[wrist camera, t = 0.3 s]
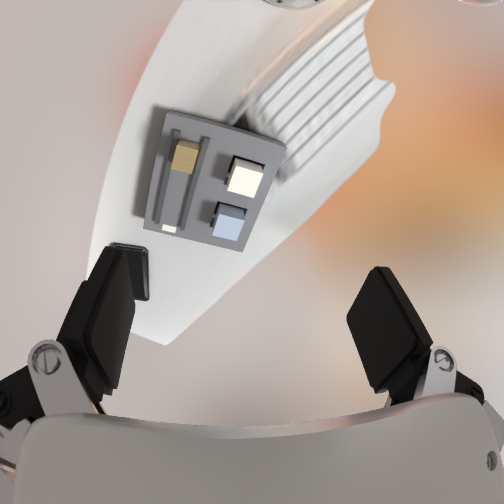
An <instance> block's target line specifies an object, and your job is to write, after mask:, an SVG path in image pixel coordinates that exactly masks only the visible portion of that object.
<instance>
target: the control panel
mask: <svg viewBox="0 0 504 504" xmlns="http://www.w3.org/2000/svg"><path fill="white" fill-rule="evenodd" d="M180 139H182V140H186V141H190V142H194V143H198V144H201V145H200V148H199V152H198V155H197V158H196V162H195V165H194V168H193V171H192V174H189V173H185V172H181V171H177V170H173V169H171V166H172V162H173V158H174V154H175V150H176V146H177V144H178V142H179V141H180ZM286 149H287V148H286V146H285V145H284V143H282V142H279V141H277V140H274V139H271V138H268V137H265V136H262V135H259V134H256V133H253V132H250V131H246V130H243V129H240V128H237V127H233V126H230V125H226V124H223V123H219V122H216V121H212V120H208V119H205V118H201V117H197V116H193V115H189V114H184V113H180V112H176V111H169V112H168V113H167V114H166V118H165V121H164V125H163V129H162V133H161V137H160V141H159V146H158V150H157V154H156V159H155V164H154V168H153V173H152V178H151V184H150V189H149V194H148V200H147V206H146V212H145V219H144V226H143V229H147V230H151V231H155V232H160V233H164V234H168V235H172V236H176V237H181V238H185V239H189V240H193V241H197V242H202V243H206V244H210V245H214V246H218V247H223V248H227V249H231V250H235V251H239V252H243V250H244V247H245V245H246V243H247V240H248V238H249V236H250V233H251V231H252V229H253V226H254V224H255V221H256V219H257V217H258V214H259V212H260V210H261V207H262V205H263V203H264V200H265V198H266V196H267V193H268V191H269V189H270V186H271V184H272V182H273V179H274V177H275V175H276V172H277V170H278V168H279V165H280V163H281V161H282V158H283V156H284V154H285V151H286ZM233 155H236V156H239V157H243V158H246V159H249V160H253V161H256V162H259V163H261V167H262V170H263V177H262V179H261V181H260V184H259V186H258V189H257V191H256V194H255V196H254V198H252V197H248V196H245V195H241V194H238V193H234V192H230V191H227V181H228V178H226V175H227V172H228V169H229V166H230V163H231V160H232V157H233ZM217 201H220V202H223V203H227V204H231V205H235V206H238V207H242V208H244V219H245V221H244V224H243V226H242V229H241V231H240V234H239V236H238V239H237V241H234V240H230V239H226V238H221V237H217V236H213V235H212V231H213V222H214V218H212V217H213V214H214V210H215V207H216V204H217Z"/></svg>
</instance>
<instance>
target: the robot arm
mask: <svg viewBox="0 0 504 504" xmlns="http://www.w3.org/2000/svg"><path fill="white" fill-rule="evenodd" d="M265 1H267V2H269V3H271V4H273V5H276V6H278V7H282V8H286V9H307V8H311V7H314V6H317V5H319V4H321V3H322V2H324V1H325V0H317V2H316V1H315V0H265ZM277 1H280V3H278V2H277ZM458 1H460V2H462V3H465V4H468V5H472V6H489V5H493V4H496V3H499V2H502V1H504V0H458ZM134 314H135V301H134V296H133V291H132V285H131V279H130V273H129V267H128V261H127V254H126V252H122V249H121V248H120V247H110V246H106V247H105V248H104V249H103V251H102V253H101V255H100V257H99V259H98V260H97V262H96V264H95V266H94V268H93V270H92V272H91V274H90V276H89V278H88V280H87V281H86V280H85V281H83V282H82V283H81V285H80V287H79V289H78V291H77V293H76V295H75V298H74V300H73V302H72V304H71V306H70V308H69V311H68V313H67V315H66V318H65V320H64V322H63V324H62V327H61V329H60V332H59V334H58V337H57V339H56V341H54V340H44V341H40V342H39V343H37V344H36V345H35V346H34V347H33V348H32V349H31V351H30V353H29V356H28V365H27V366H25V367H24V368H22V369H20V370H18V371H16V372H15V373H13V374H11V375H9V376H8V377H6V378H4V379H2V380H1V381H0V504H504V468H503V464H502V460H501V456H500V452H501V449H502V446H503V444H504V420H503V419H502V418H501V416H500V415H499V414H498V413H497V412H496V411H495V410H494V408H493V407H492V406H491V405H490V404H489V403H488V402H487V401H486V400H485V401H484V393H483V390H482V388H481V387H480V386H479V385H478V384H477V383H476V382H474V381H472V380H471V379H469V378H468V377H466V376H465V375H463V374H462V373H460V372H458V371H457V364H456V360H455V358H454V356H453V354H452V353H451V352H450V351H449V350H448V349H446V348H445V347H442V346H436V347H434V348H433V349H432V350H431V349H430V346H431V345H432V344H433V341H432V339H431V337H430V335H429V333H428V332H427V330H426V328H425V326H424V324H423V323H422V321H421V319H420V317H419V315H418V314H417V312H416V310H415V308H414V307H413V305H412V303H411V302H410V300H409V298H408V297H407V295H406V293H405V292H404V290H403V288H402V287H401V285H400V284H399V282H398V280H397V279H396V277H395V276H394V274H393V273H392V271H391V270H390V268H388V267H379V266H377V267H374V269H373V270H371V271H370V272H369V274H368V276H367V278H366V280H365V282H364V284H363V286H362V288H361V290H360V292H359V294H358V295H357V297H356V299H355V301H354V303H353V305H352V307H351V308H350V310H349V312H348V314H347V323H348V326H349V329H350V331H351V334H352V337H353V339H354V342H355V344H356V347H357V350H358V353H359V355H360V358H361V361H362V364H363V367H364V369H365V372H366V375H367V378H368V381H369V384H370V386H371V387H372V388H374V391H375V393H376V394H377V393H382V392H386V391H387V390H388V391H389V396H388V398H387V401H386V404H385V406H384V408H381V409H377V410H372V411H368V412H363V413H358V414H353V415H348V416H342V417H336V418H330V419H323V420H316V421H309V422H299V423H288V424H275V425H256V426H207V425H188V424H176V423H163V422H154V421H145V420H138V419H131V418H125V417H117V416H110V415H107V413H106V412H105V410H104V408H103V407H102V405H101V403H100V402H101V401H102V397H103V394H106V395H112V391H113V389H117V387H118V383H119V378H120V373H121V368H122V363H123V359H124V354H125V350H126V345H127V341H128V337H129V333H130V329H131V325H132V321H133V317H134Z"/></svg>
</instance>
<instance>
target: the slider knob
mask: <svg viewBox="0 0 504 504" xmlns="http://www.w3.org/2000/svg"><path fill="white" fill-rule="evenodd" d="M200 145H201V144H198V143H194V142H190V141H186V140H182V139H180V141H179V142H178V144H177V146H176V150H175V154H174V158H173V162H172V166H171V169H173V170H177V171H181V172H185V173H189V174H192V171H193V168H194V165H195V162H196V158H197V155H198V152H199V148H200Z"/></svg>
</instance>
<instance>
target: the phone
mask: <svg viewBox="0 0 504 504" xmlns="http://www.w3.org/2000/svg"><path fill="white" fill-rule="evenodd" d="M112 247H120V248H121V249H122V252H126V254H127V261H128V267H129V273H130V279H131V285H132V291H133V296H134V299H135V300H141V301H148V300H149V297H150V292H149V262H148V250H147V249H146V248H145V247H141V246H134V245H127V244H120V243H114V244H113V245H112Z"/></svg>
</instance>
